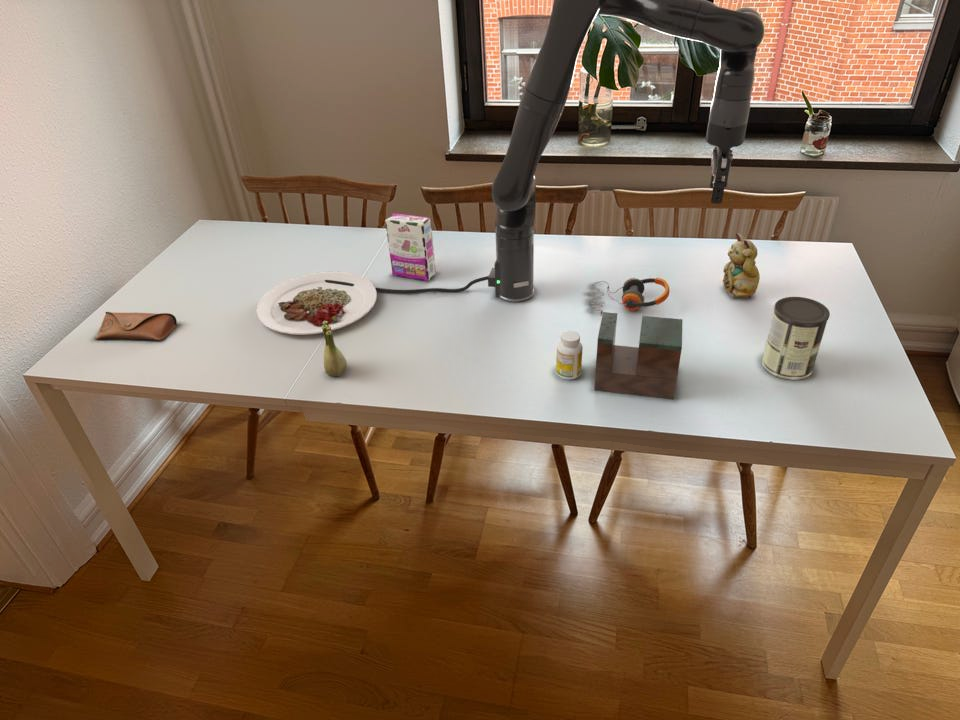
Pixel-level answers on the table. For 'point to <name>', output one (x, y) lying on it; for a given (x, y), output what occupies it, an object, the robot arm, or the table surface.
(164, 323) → the sunglasses case
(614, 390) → the notched wooden block
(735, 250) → the decorative figurine
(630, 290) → the headphones
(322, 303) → the plated food
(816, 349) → the coffee can
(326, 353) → the fennel bulb
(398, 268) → the candy bar box
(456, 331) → the table surface
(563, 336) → the supplement bottle
